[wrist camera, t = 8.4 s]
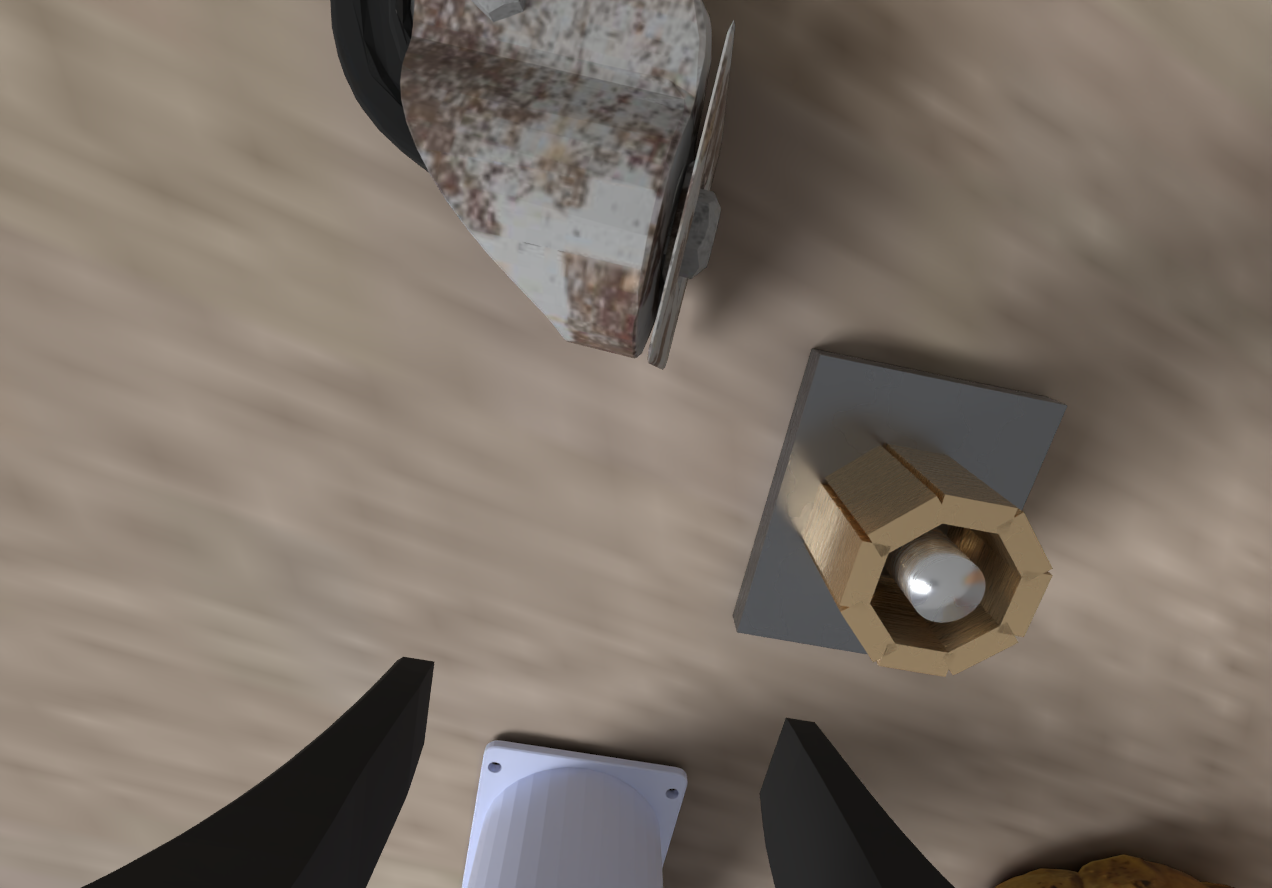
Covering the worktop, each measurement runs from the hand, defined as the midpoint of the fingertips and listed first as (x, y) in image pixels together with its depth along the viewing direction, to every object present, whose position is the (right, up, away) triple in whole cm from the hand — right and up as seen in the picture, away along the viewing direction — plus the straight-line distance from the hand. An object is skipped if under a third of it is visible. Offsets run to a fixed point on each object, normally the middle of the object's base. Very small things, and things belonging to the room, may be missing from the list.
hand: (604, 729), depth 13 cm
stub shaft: (+9, +3, +9) cm, 14 cm away
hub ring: (+9, +3, +8) cm, 13 cm away
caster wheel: (-2, +15, +6) cm, 16 cm away
